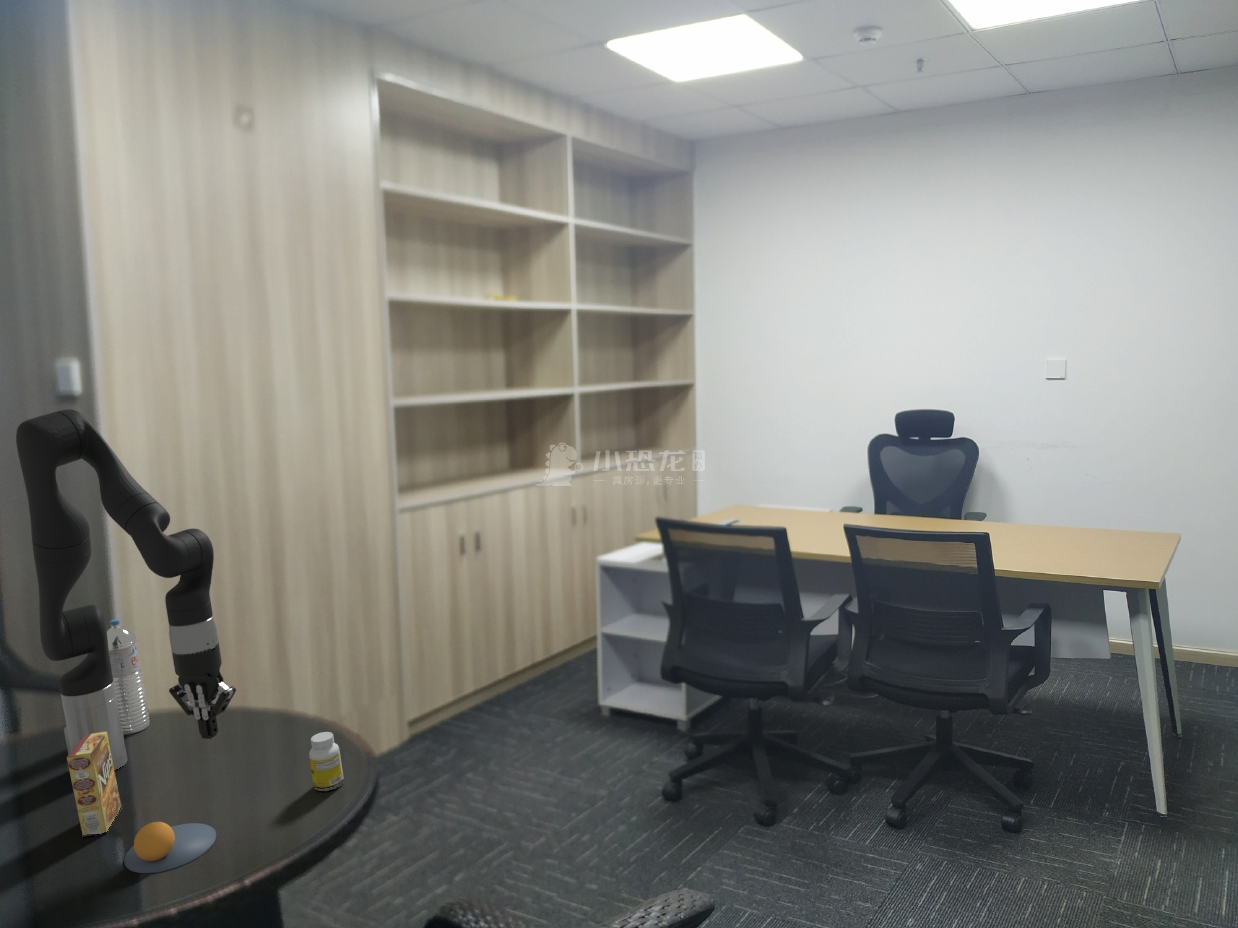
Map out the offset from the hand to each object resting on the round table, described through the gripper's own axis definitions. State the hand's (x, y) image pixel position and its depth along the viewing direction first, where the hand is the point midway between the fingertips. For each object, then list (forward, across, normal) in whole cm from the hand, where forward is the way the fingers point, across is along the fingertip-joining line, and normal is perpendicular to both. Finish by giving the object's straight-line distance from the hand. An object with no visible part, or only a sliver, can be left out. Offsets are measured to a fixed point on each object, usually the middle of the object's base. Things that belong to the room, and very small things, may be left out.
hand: (209, 736), depth 163 cm
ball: (+11, 0, -15) cm, 19 cm away
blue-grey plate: (+14, 0, -12) cm, 18 cm away
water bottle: (+14, -45, +25) cm, 53 cm away
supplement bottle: (+14, +15, +11) cm, 23 cm away
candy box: (+14, -19, -8) cm, 25 cm away
